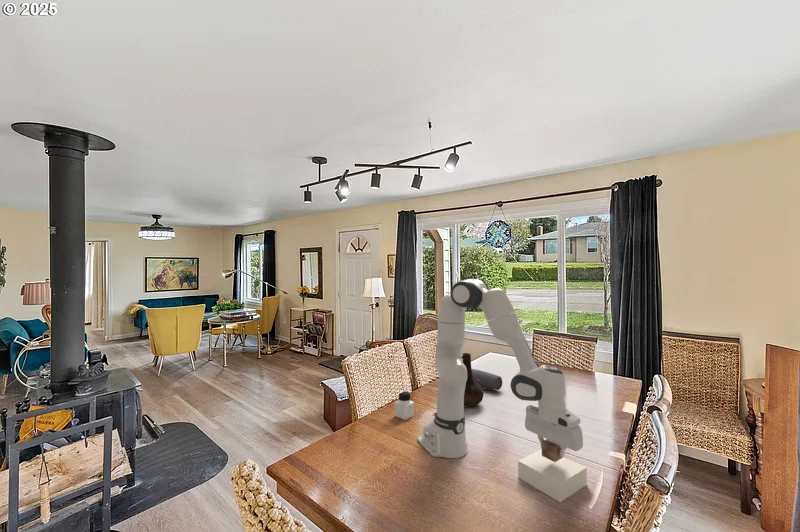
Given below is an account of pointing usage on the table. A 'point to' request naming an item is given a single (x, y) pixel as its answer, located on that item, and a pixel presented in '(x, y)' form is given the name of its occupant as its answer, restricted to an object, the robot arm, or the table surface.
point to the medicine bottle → (404, 406)
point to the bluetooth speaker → (487, 379)
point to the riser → (552, 475)
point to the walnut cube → (550, 450)
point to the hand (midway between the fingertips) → (552, 452)
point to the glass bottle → (471, 385)
